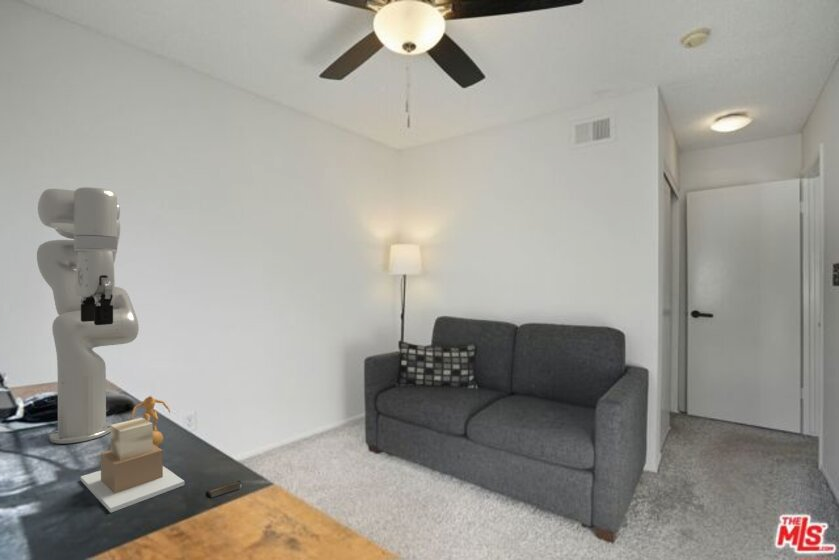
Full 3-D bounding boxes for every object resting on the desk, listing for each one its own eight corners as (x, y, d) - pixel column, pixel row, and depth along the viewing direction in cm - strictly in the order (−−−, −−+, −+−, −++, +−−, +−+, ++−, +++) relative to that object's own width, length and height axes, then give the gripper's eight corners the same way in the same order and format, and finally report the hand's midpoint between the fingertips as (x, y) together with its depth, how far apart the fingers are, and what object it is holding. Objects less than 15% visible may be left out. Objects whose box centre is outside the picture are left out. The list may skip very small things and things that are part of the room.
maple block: (110, 452, 81) (110, 425, 81) (142, 443, 85) (142, 417, 85) (120, 460, 78) (120, 431, 78) (152, 450, 82) (152, 423, 82)
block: (205, 499, 78) (204, 489, 78) (237, 485, 83) (236, 476, 83) (212, 504, 76) (211, 494, 76) (245, 489, 80) (244, 480, 80)
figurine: (135, 456, 94) (134, 403, 93) (127, 448, 98) (126, 397, 97) (175, 444, 100) (175, 395, 100) (166, 438, 104) (166, 390, 104)
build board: (80, 480, 83) (80, 449, 82) (148, 459, 92) (148, 431, 92) (110, 512, 72) (110, 477, 71) (184, 485, 81) (184, 453, 81)
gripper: (63, 245, 94) (64, 321, 94) (86, 242, 83) (87, 327, 83) (104, 247, 100) (104, 318, 100) (130, 244, 89) (130, 324, 89)
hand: (96, 322), depth 92 cm, fingers open, 9 cm apart
